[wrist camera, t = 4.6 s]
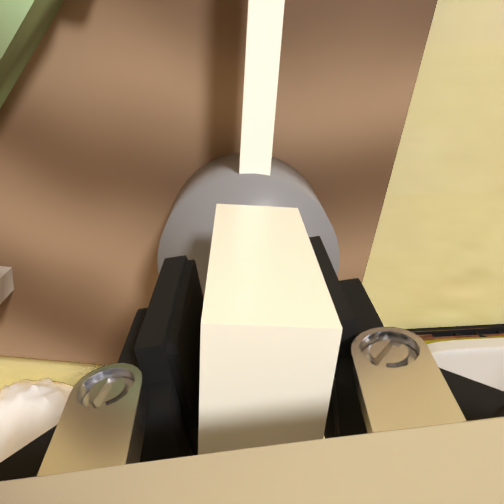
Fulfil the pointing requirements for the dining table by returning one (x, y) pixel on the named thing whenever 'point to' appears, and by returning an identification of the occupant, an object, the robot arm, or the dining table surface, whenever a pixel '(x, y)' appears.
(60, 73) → the board
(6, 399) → the seated beast figurine
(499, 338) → the harmonica
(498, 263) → the dining table surface
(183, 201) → the dial knob with pointer
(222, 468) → the robot arm
